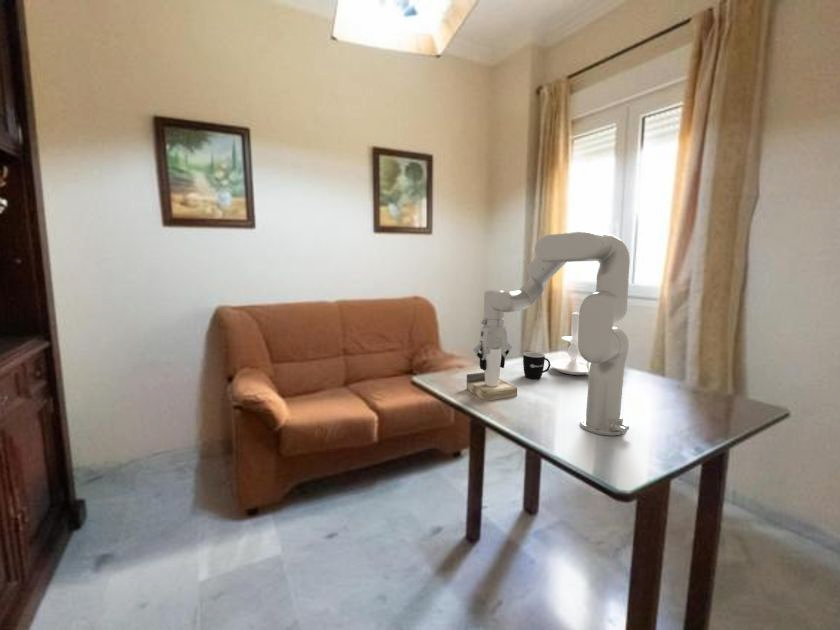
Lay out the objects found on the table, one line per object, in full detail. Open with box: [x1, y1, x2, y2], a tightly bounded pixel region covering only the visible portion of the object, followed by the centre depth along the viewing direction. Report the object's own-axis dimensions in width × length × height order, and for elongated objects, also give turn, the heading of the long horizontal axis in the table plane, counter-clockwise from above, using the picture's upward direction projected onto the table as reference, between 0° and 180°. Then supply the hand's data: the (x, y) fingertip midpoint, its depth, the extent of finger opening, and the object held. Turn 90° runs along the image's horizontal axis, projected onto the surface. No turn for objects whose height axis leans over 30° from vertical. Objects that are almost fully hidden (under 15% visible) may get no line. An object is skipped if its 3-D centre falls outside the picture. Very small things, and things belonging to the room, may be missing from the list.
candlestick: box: [550, 311, 591, 376], centre depth 180 cm, size 21×25×28 cm
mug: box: [522, 351, 551, 380], centre depth 176 cm, size 12×9×10 cm
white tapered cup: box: [483, 348, 501, 387], centre depth 155 cm, size 7×7×15 cm
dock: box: [466, 371, 518, 402], centre depth 156 cm, size 14×14×6 cm
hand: (492, 367), depth 155 cm, fingers open, 7 cm apart
